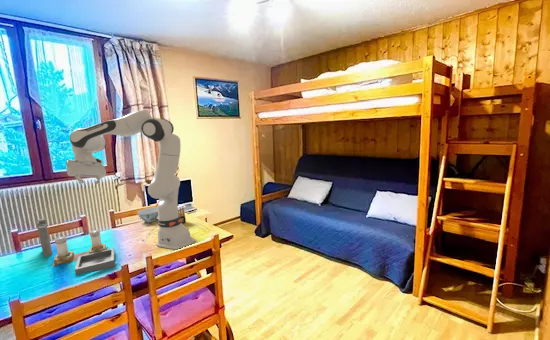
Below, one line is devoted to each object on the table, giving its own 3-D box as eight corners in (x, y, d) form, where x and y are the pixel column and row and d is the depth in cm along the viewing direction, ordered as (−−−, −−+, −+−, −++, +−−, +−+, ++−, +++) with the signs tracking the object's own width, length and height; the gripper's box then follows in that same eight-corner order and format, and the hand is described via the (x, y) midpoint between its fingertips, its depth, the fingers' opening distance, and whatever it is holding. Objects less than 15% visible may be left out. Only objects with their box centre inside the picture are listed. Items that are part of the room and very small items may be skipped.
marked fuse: (104, 251, 155) (101, 230, 153) (95, 254, 151) (92, 233, 149) (100, 249, 157) (97, 229, 155) (91, 252, 154) (88, 232, 152)
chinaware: (163, 221, 203) (162, 210, 201) (140, 226, 194) (139, 215, 193) (158, 215, 215) (157, 206, 214) (137, 220, 207) (136, 210, 205)
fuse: (71, 258, 148) (67, 237, 146) (61, 262, 144) (56, 240, 142) (67, 256, 150) (63, 235, 148) (57, 260, 147) (53, 239, 144)
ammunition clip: (170, 226, 191) (168, 209, 189) (169, 225, 193) (167, 208, 191) (186, 222, 197) (184, 206, 195) (185, 222, 199) (183, 205, 196)
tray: (114, 254, 153) (113, 248, 152) (114, 266, 139) (113, 260, 139) (79, 262, 145) (78, 256, 145) (75, 276, 132) (74, 269, 131)
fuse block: (108, 248, 161) (107, 242, 160) (107, 255, 152) (106, 249, 152) (56, 260, 149) (54, 253, 149) (52, 268, 141) (51, 261, 140)
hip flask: (42, 250, 163) (35, 217, 159) (50, 247, 166) (44, 215, 162) (44, 259, 151) (37, 223, 148) (54, 256, 154) (47, 221, 151)
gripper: (68, 156, 149) (74, 180, 146) (105, 160, 168) (110, 181, 165) (61, 161, 151) (66, 185, 148) (98, 165, 170) (103, 186, 167)
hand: (90, 183), depth 157 cm, fingers open, 8 cm apart
